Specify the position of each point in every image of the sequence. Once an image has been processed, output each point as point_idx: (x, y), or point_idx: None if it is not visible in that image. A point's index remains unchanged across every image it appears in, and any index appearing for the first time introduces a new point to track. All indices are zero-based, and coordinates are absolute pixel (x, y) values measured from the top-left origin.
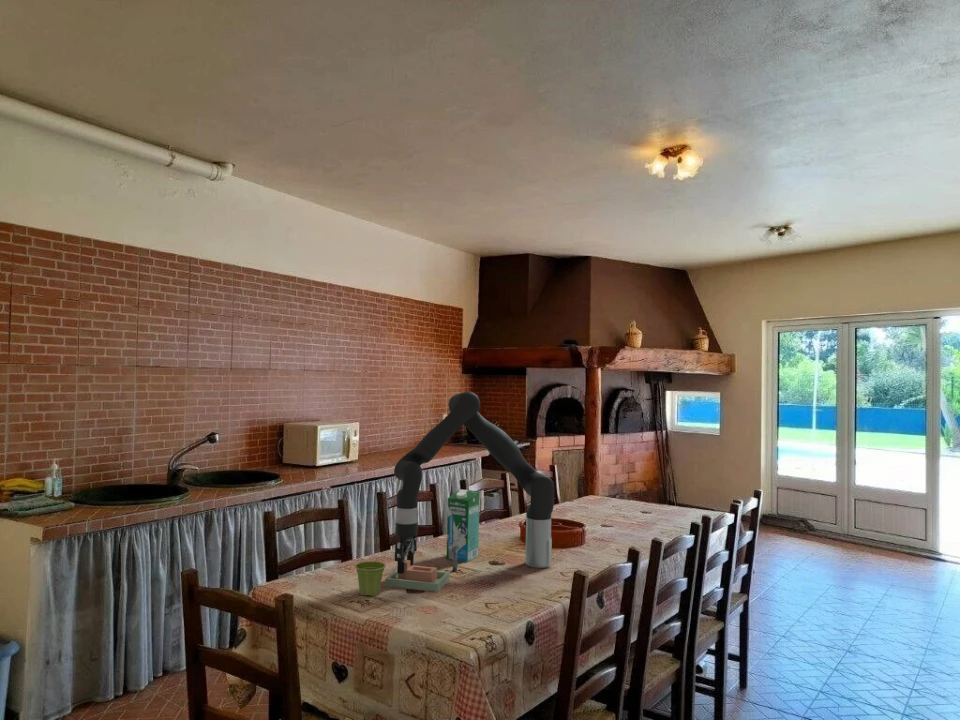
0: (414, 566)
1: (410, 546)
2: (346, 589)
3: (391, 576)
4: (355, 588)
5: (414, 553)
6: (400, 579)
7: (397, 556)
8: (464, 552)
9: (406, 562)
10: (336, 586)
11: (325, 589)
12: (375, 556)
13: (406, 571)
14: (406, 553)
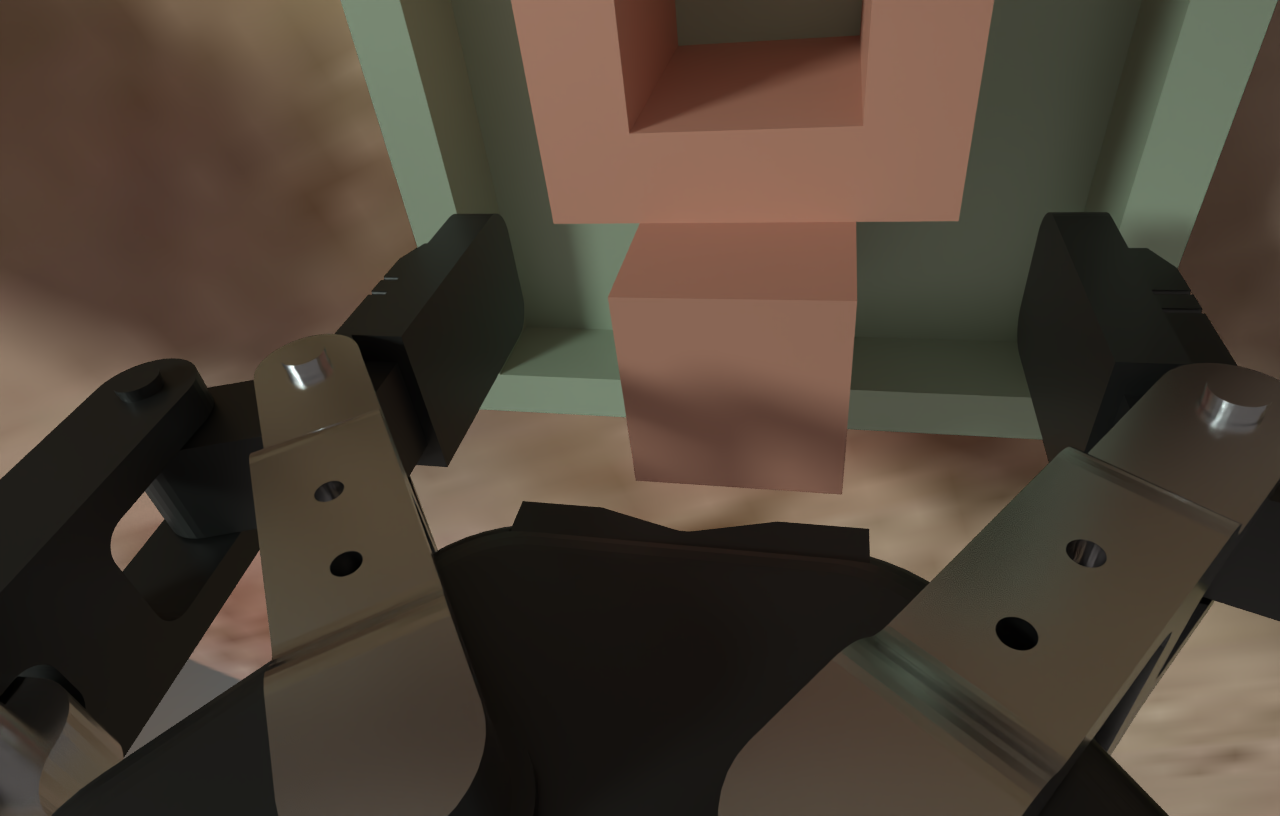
0: (603, 130)
1: (510, 615)
2: (1249, 678)
3: (953, 392)
4: (1207, 621)
5: (321, 342)
6: (1150, 190)
7: (1176, 652)
8: None
9: (823, 330)
10: (1137, 748)
11: (1245, 795)
12: (206, 652)
13: (961, 188)
14: (1228, 533)
